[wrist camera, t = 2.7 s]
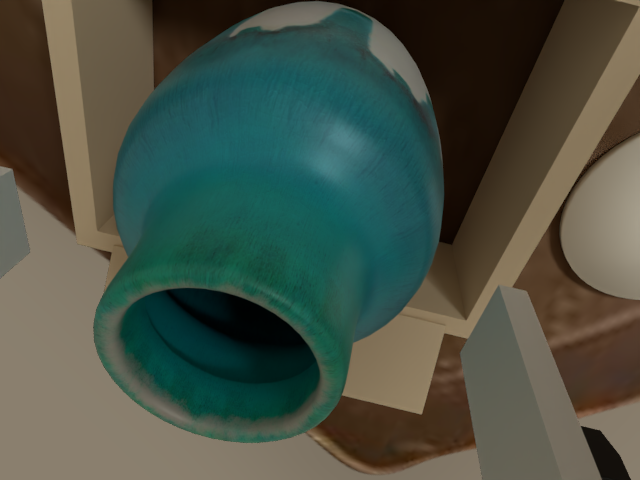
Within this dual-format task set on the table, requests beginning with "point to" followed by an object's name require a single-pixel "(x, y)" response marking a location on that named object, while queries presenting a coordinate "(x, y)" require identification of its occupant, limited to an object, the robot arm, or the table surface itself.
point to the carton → (449, 260)
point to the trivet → (606, 222)
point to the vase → (269, 221)
